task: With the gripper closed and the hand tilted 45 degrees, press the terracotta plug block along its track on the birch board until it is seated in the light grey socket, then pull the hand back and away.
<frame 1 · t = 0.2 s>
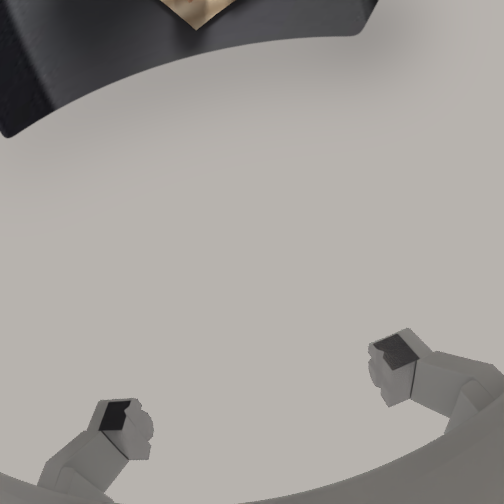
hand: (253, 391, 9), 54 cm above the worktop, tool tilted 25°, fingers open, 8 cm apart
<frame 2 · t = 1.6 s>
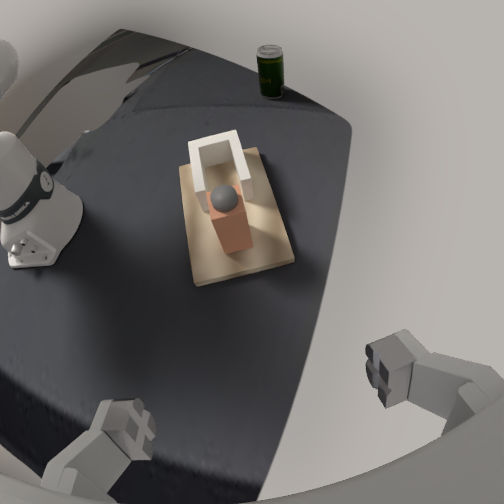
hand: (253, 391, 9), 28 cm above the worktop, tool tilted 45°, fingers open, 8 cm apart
base board: (230, 210, 45), on the worktop
socket: (223, 181, 46), resting on base board
beer can: (272, 94, 58), on the worktop
plug: (230, 219, 36), point 7 cm above the worktop, slide at 0.0 cm
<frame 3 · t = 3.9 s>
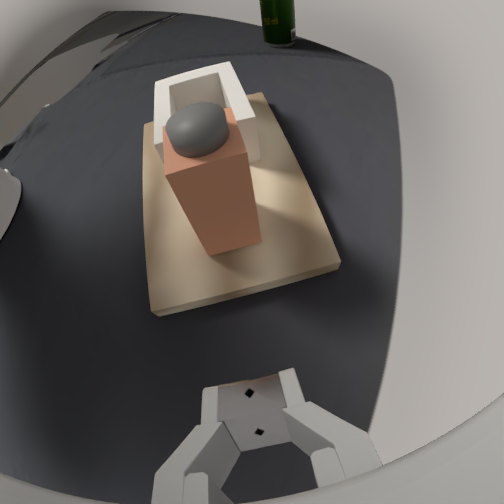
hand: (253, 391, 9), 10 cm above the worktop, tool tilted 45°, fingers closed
base board: (220, 182, 26), on the worktop
socket: (208, 137, 27), resting on base board
beer can: (280, 43, 39), on the worktop
plug: (215, 183, 17), point 7 cm above the worktop, slide at 0.0 cm
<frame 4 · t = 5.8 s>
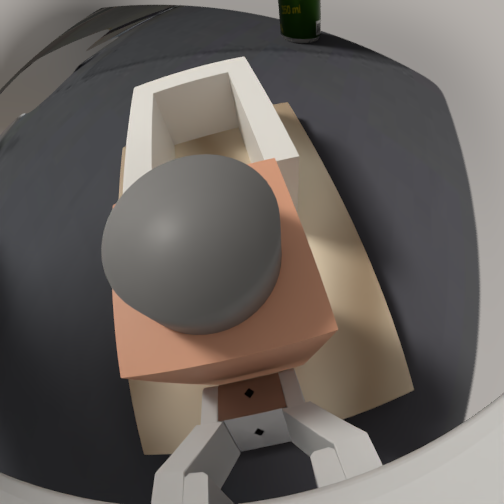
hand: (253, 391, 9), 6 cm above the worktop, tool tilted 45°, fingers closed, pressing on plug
base board: (232, 248, 18), on the worktop
socket: (214, 172, 19), resting on base board
beer can: (300, 38, 31), on the worktop
plug: (234, 309, 9), point 7 cm above the worktop, slide at 0.2 cm, touching gripper
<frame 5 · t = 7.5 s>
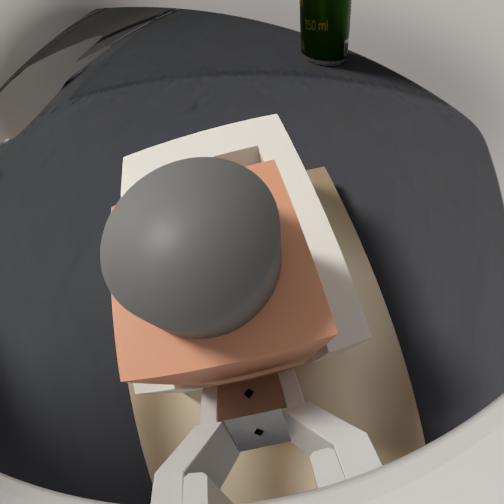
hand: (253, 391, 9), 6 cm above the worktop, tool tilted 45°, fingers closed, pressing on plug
base board: (263, 377, 14), on the worktop
socket: (238, 281, 15), resting on base board
beer can: (323, 58, 27), on the worktop
plug: (233, 310, 9), point 7 cm above the worktop, slide at 8.1 cm, touching gripper
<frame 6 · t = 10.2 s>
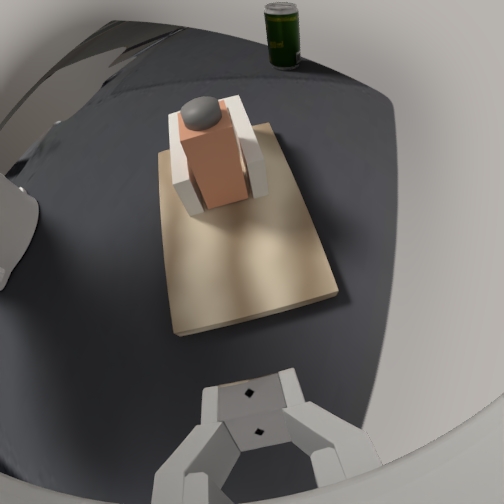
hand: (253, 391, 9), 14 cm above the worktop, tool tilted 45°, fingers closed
base board: (231, 213, 29), on the worktop
socket: (220, 169, 30), resting on base board
beer can: (285, 65, 43), on the worktop
plug: (213, 152, 24), point 7 cm above the worktop, slide at 8.0 cm
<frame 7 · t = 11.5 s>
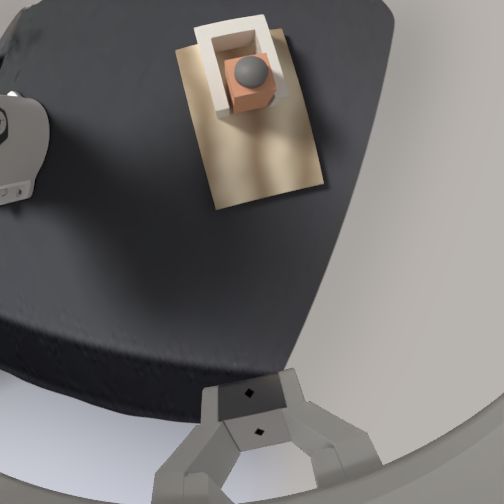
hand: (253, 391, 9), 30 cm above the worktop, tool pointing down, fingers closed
base board: (248, 113, 34), on the worktop
socket: (239, 75, 31), resting on base board
plug: (248, 84, 27), point 7 cm above the worktop, slide at 8.0 cm
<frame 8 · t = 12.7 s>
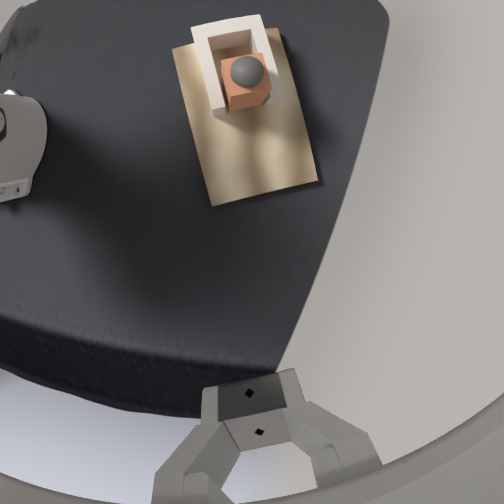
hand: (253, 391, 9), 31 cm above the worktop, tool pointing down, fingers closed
base board: (244, 111, 34), on the worktop
socket: (235, 73, 31), resting on base board
plug: (243, 83, 27), point 7 cm above the worktop, slide at 8.0 cm
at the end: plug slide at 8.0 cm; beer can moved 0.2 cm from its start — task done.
